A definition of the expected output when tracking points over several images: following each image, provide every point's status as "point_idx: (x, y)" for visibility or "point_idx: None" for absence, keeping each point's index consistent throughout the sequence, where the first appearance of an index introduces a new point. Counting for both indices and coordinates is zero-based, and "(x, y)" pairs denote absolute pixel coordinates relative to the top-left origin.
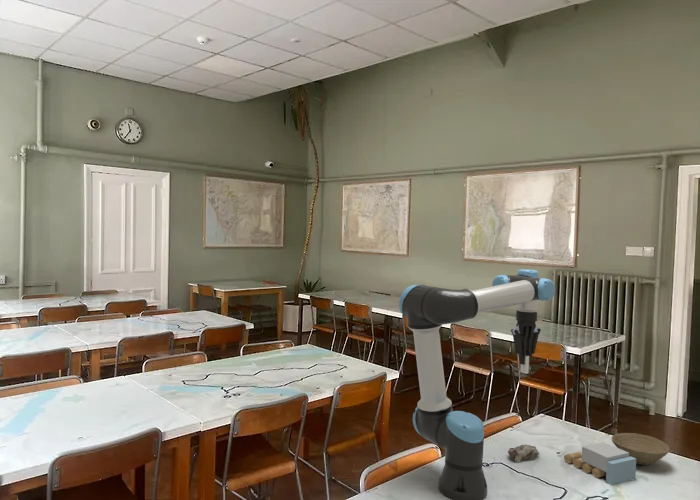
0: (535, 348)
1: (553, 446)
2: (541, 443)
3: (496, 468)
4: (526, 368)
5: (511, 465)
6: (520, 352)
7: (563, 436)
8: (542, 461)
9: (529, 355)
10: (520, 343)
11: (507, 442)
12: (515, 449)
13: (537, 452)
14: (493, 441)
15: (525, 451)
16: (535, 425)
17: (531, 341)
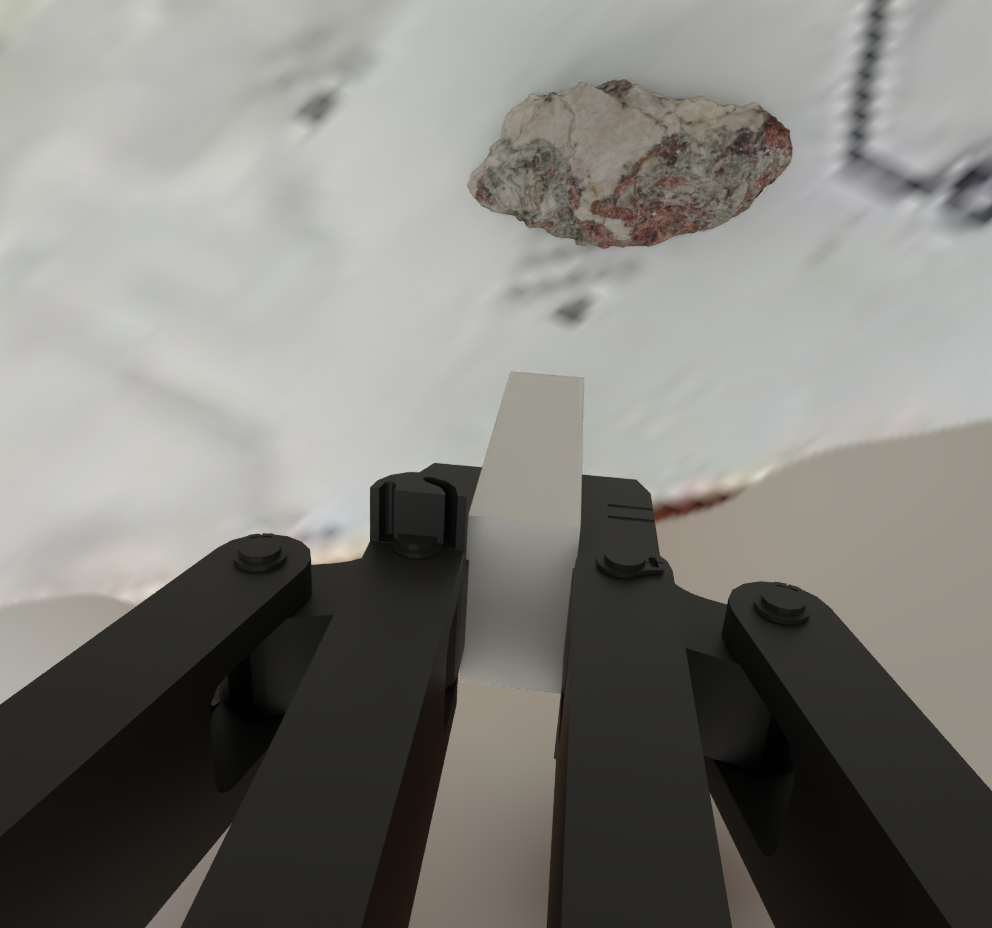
0: (135, 612)
1: (265, 204)
2: (307, 281)
3: (972, 99)
4: (562, 408)
5: (828, 89)
6: (824, 629)
7: (60, 302)
8: (557, 38)
9: (458, 520)
10: (968, 882)
11: None
12: (709, 174)
13: (544, 99)
14: (595, 450)
15: (676, 104)
16: (111, 518)
17: (237, 843)
